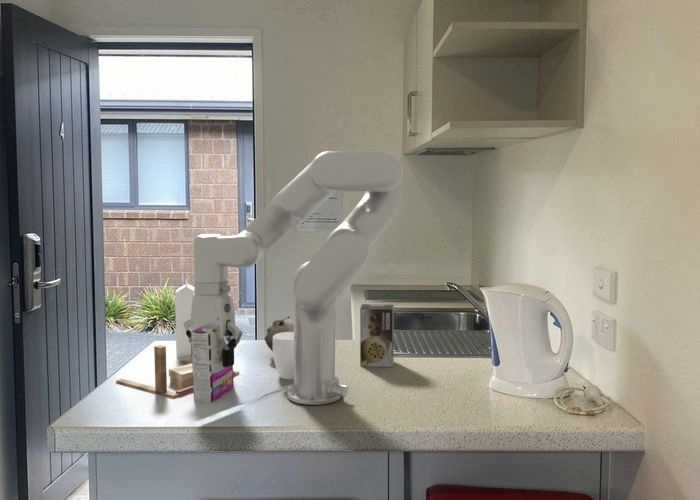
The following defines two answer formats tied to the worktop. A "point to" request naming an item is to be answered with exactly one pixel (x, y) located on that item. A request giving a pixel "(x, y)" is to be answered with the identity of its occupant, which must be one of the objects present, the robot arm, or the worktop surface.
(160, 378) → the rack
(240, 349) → the worktop surface
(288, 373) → the mug
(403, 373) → the worktop surface
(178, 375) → the offcut top
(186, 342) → the milk
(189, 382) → the offcut middle
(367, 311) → the cookie box
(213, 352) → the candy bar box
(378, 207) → the robot arm
